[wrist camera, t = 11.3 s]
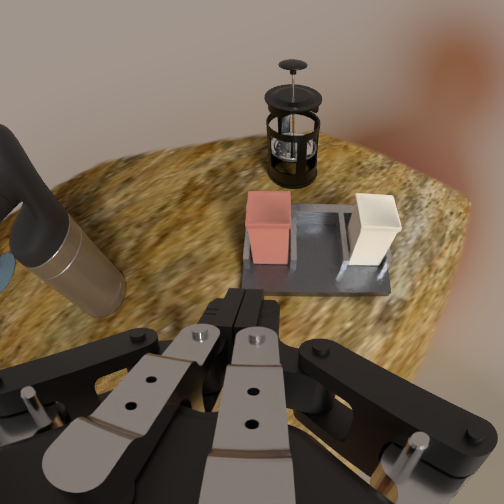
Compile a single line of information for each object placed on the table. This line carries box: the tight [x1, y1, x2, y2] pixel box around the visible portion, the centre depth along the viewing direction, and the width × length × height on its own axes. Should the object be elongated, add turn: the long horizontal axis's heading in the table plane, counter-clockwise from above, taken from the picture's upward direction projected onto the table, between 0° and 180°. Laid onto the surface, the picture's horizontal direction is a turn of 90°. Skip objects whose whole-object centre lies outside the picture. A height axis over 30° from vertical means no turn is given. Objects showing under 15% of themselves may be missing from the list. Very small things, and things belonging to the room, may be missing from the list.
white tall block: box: [346, 193, 402, 265], centre depth 39 cm, size 5×5×10 cm
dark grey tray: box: [241, 203, 392, 296], centre depth 44 cm, size 14×22×4 cm, turn 87°
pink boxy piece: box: [245, 191, 291, 264], centre depth 41 cm, size 5×5×10 cm
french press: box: [265, 59, 322, 189], centre depth 46 cm, size 12×9×23 cm
